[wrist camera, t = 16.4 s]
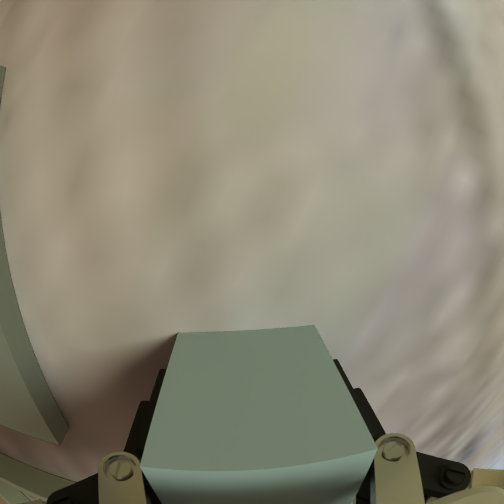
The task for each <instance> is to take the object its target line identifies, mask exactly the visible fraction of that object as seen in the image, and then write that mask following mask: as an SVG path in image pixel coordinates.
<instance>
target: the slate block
mask: <svg viewBox="0 0 504 504" xmlns="http://www.w3.org/2000/svg"><path fill="white" fill-rule="evenodd" d="M377 449H378V448H377V446H376V444H375V442H374V440H373V438H372V436H371V434H370V432H369V430H368V428H367V426H366V424H365V422H364V420H363V418H362V416H361V414H360V412H359V410H358V408H357V406H356V404H355V402H354V400H353V398H352V396H351V394H350V392H349V390H348V388H347V386H346V385H345V383H344V381H343V379H342V377H341V375H340V373H339V371H338V369H337V367H336V365H335V363H334V361H333V359H332V357H331V356H330V354H329V352H328V350H327V348H326V346H325V344H324V342H323V340H322V338H321V337H320V335H319V333H318V331H317V329H316V327H315V325H309V326H299V327H287V328H274V329H260V330H243V331H223V332H189V333H178V335H177V338H176V341H175V344H174V347H173V351H172V354H171V357H170V360H169V364H168V367H167V370H166V373H165V377H164V380H163V384H162V387H161V390H160V394H159V397H158V401H157V404H156V408H155V411H154V415H153V418H152V422H151V426H150V429H149V433H148V437H147V440H146V444H145V448H144V452H143V456H142V459H141V463H140V468H141V469H142V471H143V473H144V475H145V477H146V478H147V480H148V482H149V483H150V485H151V487H152V488H153V490H154V492H155V493H156V495H157V496H158V498H159V500H160V501H161V503H162V504H351V503H352V502H353V500H354V498H355V496H356V494H357V492H358V490H359V488H360V486H361V484H362V482H363V480H364V478H365V476H366V474H367V472H368V470H369V468H370V465H371V463H372V461H373V459H374V456H375V454H376V452H377Z"/></svg>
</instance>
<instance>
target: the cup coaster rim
mask: <svg viewBox="0 0 504 504" xmlns="http://www.w3.org/2000/svg"><path fill="white" fill-rule="evenodd" d="M74 483H76V482H73V481H70V480H66V479H63V478H60V477H57V476H54V475H51V474H49V473H46V472H43V471H40V470H38V469H35V468H33V467H30V466H28V465H26V464H23V463H21V462H19V461H16V460H14V459H12V458H10V457H8V456H5V455H3V454H1V453H0V496H1V497H2V498H3V499H4V500H5V501H6V502H7V503H8V504H19V503H24V502H29V501H30V500H29V499H28V498H26V497H25V496H24V495H23V494H22V493H21V492H23V493H25V494H28V495H30V496H32V497H34V498H36V499H42V500H43V501H47V499H48V497H49V496H50V495H51V494H52V493H53V492H55V491H57V490H59V489H62V488H64V487H67V486H69V485H72V484H74ZM20 491H21V492H20Z"/></svg>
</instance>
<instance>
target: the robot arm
mask: <svg viewBox="0 0 504 504" xmlns="http://www.w3.org/2000/svg"><path fill="white" fill-rule="evenodd" d="M333 361H334V363H335V365H336V367H337V369H338V371H339V373H340V375H341V377H342V379H343V381H344V383H345V385H346V386H347V388H348V390H349V392H350V394H351V396H352V398H353V400H354V402H355V404H356V406H357V408H358V410H359V412H360V414H361V416H362V418H363V420H364V422H365V424H366V426H367V428H368V430H369V432H370V434H371V436H372V438H373V440H374V442H375V444H376V446H377V448H378V449H377V452H376V454H375V456H374V459H373V461H372V463H371V465H370V468H369V470H368V472H367V474H366V476H365V478H364V480H363V482H362V484H361V486H360V488H359V490H358V492H357V494H356V496H355V498H354V500H353V503H352V504H504V470H495V469H479V468H474V469H473V470H472V471H470V470H469V469H468V468H467V467H466V466H465V465H464V464H462V463H459V462H455V461H450V460H446V459H442V458H438V457H434V456H430V455H427V454H423V453H419V452H416V450H415V446H414V444H413V442H412V440H411V439H410V438H408V437H407V436H405V435H402V434H399V433H390V434H386V433H385V431H384V429H383V428H382V426H381V424H380V422H379V420H378V419H377V417H376V415H375V413H374V411H373V410H372V408H371V406H370V404H369V402H368V401H367V399H366V397H365V395H364V394H363V392H362V390H361V389H360V388H355V389H353V387H352V386H351V384H350V382H349V380H348V378H347V376H346V374H345V373H344V371H343V369H342V367H341V365H340V363H339V362H338V360H337V359H334V360H333ZM166 370H167V369H160V371H159V374H158V377H157V380H156V383H155V386H154V389H153V392H152V395H151V398H150V401H141V402H140V404H139V407H138V410H137V413H136V416H135V419H134V422H133V425H132V428H131V431H130V434H129V437H128V440H127V443H126V446H125V449H124V452H119V451H118V452H113V453H110V454H108V455H106V456H105V457H104V458H103V459H102V460H101V461H100V463H99V467H98V473H97V474H95V475H93V476H90V477H88V478H86V479H84V480H81V481H79V482H77V483H74V484H72V485H69V486H67V487H64V488H62V489H59V490H57V491H55V492H53V493H52V494H51V495H50V496H49V497H48V499H47V501H43V500H42V499H39V500H34V501H29V502H24V503H19V504H162V503H161V501H160V500H159V498H158V496H157V495H156V493H155V492H154V490H153V488H152V487H151V485H150V483H149V482H148V480H147V478H146V477H145V475H144V473H143V471H142V469H141V468H140V463H141V459H142V456H143V452H144V448H145V444H146V440H147V437H148V433H149V429H150V426H151V422H152V418H153V415H154V411H155V408H156V404H157V401H158V397H159V394H160V390H161V387H162V384H163V380H164V377H165V373H166Z"/></svg>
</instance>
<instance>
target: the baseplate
mask: <svg viewBox="0 0 504 504" xmlns="http://www.w3.org/2000/svg"><path fill="white" fill-rule="evenodd" d="M5 69H6V68H5V67H3V66H0V103H1V95H2V88H3V81H4V75H5ZM0 425H2V426H5V427H7V428H10V429H12V430H15V431H17V432H20V433H23V434H25V435H28V436H31V437H34V438H37V439H40V440H43V441H46V442H49V443H53V444H56V445H60V444H61V442H62V440H63V438H64V436H65V434H66V433H67V431H68V429H69V426H68V425H67V423H66V421H65V419H64V417H63V416H62V414H61V412H60V410H59V408H58V406H57V404H56V402H55V400H54V398H53V396H52V394H51V392H50V390H49V387H48V385H47V383H46V381H45V379H44V376H43V374H42V372H41V369H40V367H39V364H38V362H37V359H36V357H35V354H34V352H33V349H32V346H31V344H30V341H29V338H28V335H27V332H26V329H25V326H24V323H23V320H22V317H21V313H20V310H19V306H18V303H17V299H16V296H15V292H14V288H13V284H12V279H11V275H10V270H9V266H8V261H7V255H6V250H5V244H4V237H3V231H2V223H1V214H0Z"/></svg>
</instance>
